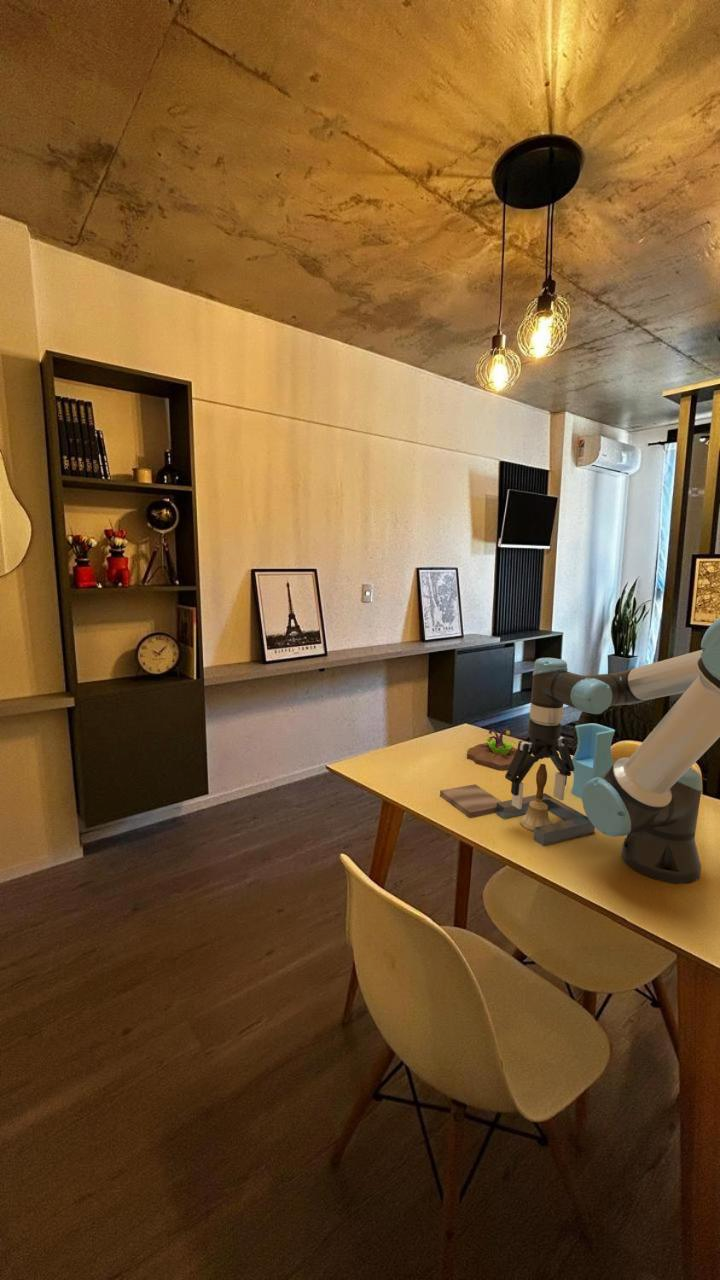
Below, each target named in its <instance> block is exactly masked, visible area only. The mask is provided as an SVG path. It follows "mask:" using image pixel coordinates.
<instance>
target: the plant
mask: <svg viewBox="0 0 720 1280" xmlns="http://www.w3.org/2000/svg"><path fill="white" fill-rule="evenodd" d="M492 733H493V734H494V735H492V736H489V737H487V739H485V740H484V741H485V743H479V744H477V745H475V746H473V747H469V748H468V749H467V751H466V759H467V760H469V761H473V762H474V764H475V765H478V766H483V767H486V768H489V769H492V770H496V771H500V772H503V771H506V772H507V771H508V769H509V767H510V764H511V762H512V760H513V758H514V756H515V754H516V752H517V749H518V748H516V747H514V746H515V745H516V743H515V742H511V743H509V744H507V740H506V739H504V740H503V737H504V736H503V735H504V733H505V734H506V735H507V736H510V735H511V732H510V730H509V729H506V728H504V729H502V730H501V732H500V733H499V734H498V733H497V731H496V730H495V729H489V730H488V734H489V735H491V734H492Z"/></svg>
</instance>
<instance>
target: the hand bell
mask: <svg viewBox="0 0 720 1280" xmlns="http://www.w3.org/2000/svg"><path fill="white" fill-rule="evenodd" d="M546 767H547V765H546V764H545V763H540V764H539V767H538V769H537V772H536V776H535V783H536V788H537V789H536V794H535V795H536V800H535V801H531V802H530V803H529V807H528V811H527V813H526V814H523V815H522V817H520V819H519V824H520V826H522V827H523V828H525V829H526V830H529V831H531V832H534V830H535V827H540V826H544V825H548V824H553V823H554V822H552V821H551V819H550V816H549V811H548V806H547V805H546V804H545V803H543V793H544V790H545V786H546V784H547V780H548V772H547V768H546Z"/></svg>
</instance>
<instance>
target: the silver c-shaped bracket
mask: <svg viewBox="0 0 720 1280" xmlns="http://www.w3.org/2000/svg"><path fill="white" fill-rule="evenodd" d="M535 800H536V794H534V795H530V796H524V797H522V809H518V808H516V807H515V806H513V805H512V799H508V800H503V801H502V802H498V803H497V806H496V813H495V814H496V815H498V816H499V817H501V818H502V819H504V820H505V819H508V818H513V817H518V816H524V815H525V814H526V813H527V811H528V807H529V803H530V802H531V801H535ZM543 803H545V804H546V805H547V806H548V812H550V813H552V814H553V815H555V816H557V817H559V818H561V820H563V821H559V822H552V823H553V824H548V825H544V826H540V827H535V830H534V831H533V833H534V834H533V840H534V841H535V842H537V843H538V844H540V845H541V846H547V845H551V844H556V843H559V842H562V841H566V840H571V839H575V838H579V837H583V836H587V835H591V834H594V833H595V830H596V828H595V827H594V826H593V824H592V823H591V822H590V820H589V819H588V817H587V815H586V814H583V813H581V812H579V811H578V810H576V809H574V808H572V807H571V806H569V805H567V804H565V803H564V802H561V800H559V799H557V798H556V797H554V796H553V797H552V796H551V795H550V794H547V793H546V792H543Z"/></svg>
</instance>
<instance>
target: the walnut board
mask: <svg viewBox="0 0 720 1280" xmlns="http://www.w3.org/2000/svg"><path fill="white" fill-rule="evenodd" d="M439 791H440V792H439V797H441V798H443V799H444V800H445V801H446V802H448V803H449V804H450V805H451V806H453V807H454V808H455V809H457V810H459V812H461V813H462V814H464V815H466V817H468V818H469V819H470V818H475V817H481V816H485V815H490V814H496V806H497V803H498V802H503V801H502V800H500V799H499V798H497V797H496V796H494V795H493V794H491V793H489V792H488V791H486V790H485V789H483V788H482V787H480V786H479V785H477V784H470V785H465V786H459V787H453V788H446V789H442V790H439Z"/></svg>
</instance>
